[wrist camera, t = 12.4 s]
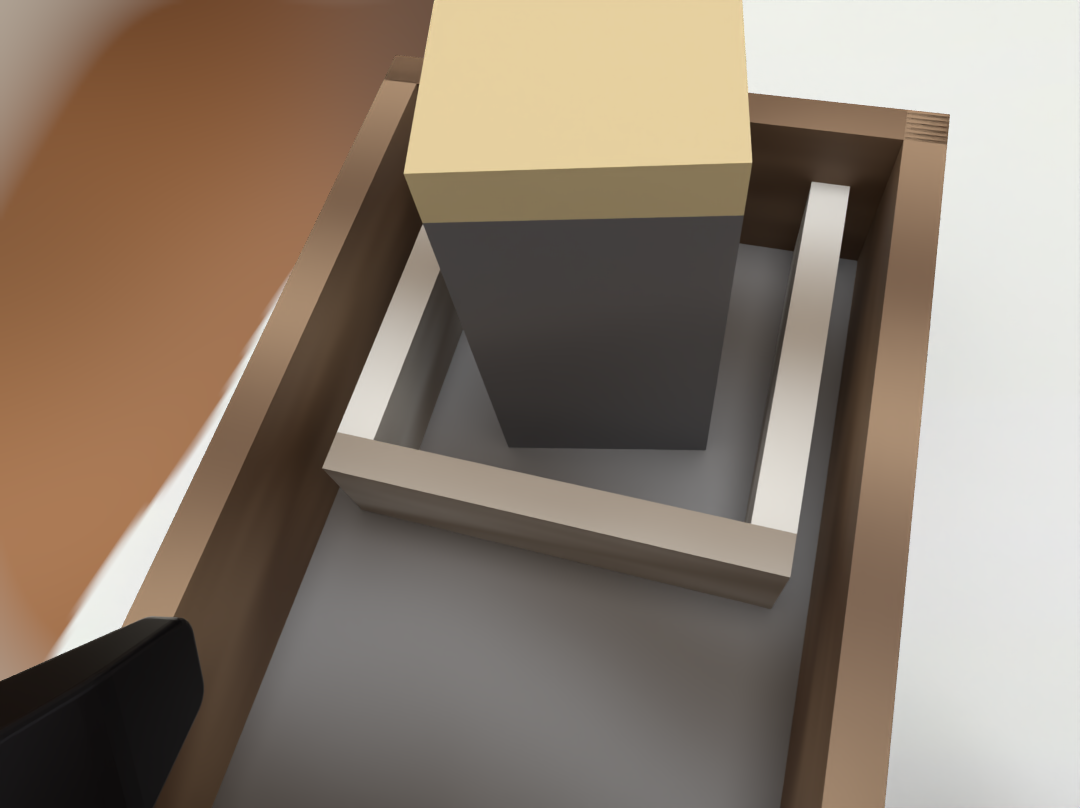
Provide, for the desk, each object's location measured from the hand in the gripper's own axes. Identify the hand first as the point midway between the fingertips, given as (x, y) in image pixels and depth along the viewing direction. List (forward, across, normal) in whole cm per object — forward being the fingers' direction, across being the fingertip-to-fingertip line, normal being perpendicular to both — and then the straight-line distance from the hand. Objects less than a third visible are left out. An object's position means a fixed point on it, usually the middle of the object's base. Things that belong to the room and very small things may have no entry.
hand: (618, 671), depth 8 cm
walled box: (+8, +2, +4) cm, 10 cm away
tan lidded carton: (+12, +1, 0) cm, 12 cm away
